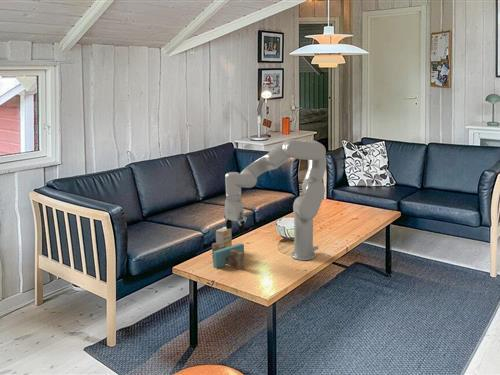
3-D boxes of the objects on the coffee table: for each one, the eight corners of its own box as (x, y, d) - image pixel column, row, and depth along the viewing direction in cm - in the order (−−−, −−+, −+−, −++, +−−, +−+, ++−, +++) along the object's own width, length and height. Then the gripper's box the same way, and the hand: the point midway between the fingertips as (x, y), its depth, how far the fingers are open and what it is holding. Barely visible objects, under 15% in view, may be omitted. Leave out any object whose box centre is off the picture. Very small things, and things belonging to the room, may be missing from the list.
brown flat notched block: (212, 258, 260) (211, 243, 258) (216, 257, 261) (215, 242, 260) (240, 269, 244) (239, 254, 242) (244, 268, 245) (243, 252, 244)
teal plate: (216, 268, 246) (215, 252, 245) (213, 267, 248) (212, 251, 246) (244, 259, 258) (243, 244, 256) (241, 257, 260) (240, 243, 258)
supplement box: (223, 255, 264) (223, 231, 261) (216, 254, 266) (215, 230, 263) (232, 250, 271) (231, 227, 268) (225, 249, 273) (224, 226, 270)
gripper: (216, 196, 252) (218, 228, 256) (239, 201, 240) (241, 235, 244) (228, 193, 257) (230, 225, 261) (251, 198, 245) (252, 232, 248)
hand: (235, 230), depth 252 cm, fingers open, 9 cm apart
